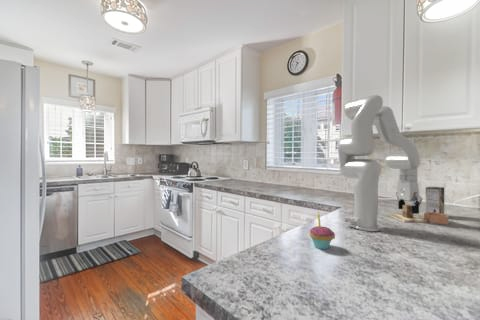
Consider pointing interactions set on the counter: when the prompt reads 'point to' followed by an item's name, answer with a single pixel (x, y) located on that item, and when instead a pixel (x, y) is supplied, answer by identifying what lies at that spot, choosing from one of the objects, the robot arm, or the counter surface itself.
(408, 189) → the robot arm
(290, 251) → the counter surface
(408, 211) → the lid
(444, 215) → the bowl
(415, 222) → the mat
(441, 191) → the coffee box
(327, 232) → the cupcake
